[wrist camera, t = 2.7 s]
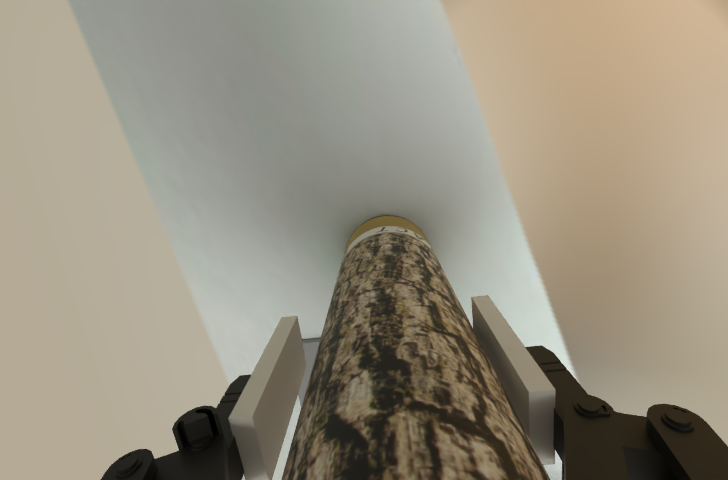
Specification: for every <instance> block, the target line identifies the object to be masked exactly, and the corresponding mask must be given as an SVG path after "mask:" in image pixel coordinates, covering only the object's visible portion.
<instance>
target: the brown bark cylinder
mask: <svg viewBox="0 0 728 480" xmlns="http://www.w3.org/2000/svg"><path fill="white" fill-rule="evenodd" d="M341 264H342V265H341V267H340V271H339V274H338V278H337V282H336V285H335V289H334V292H333V296H332V300H331V303H330V307H329V310H328V314H327V318H326V321H325V325H324V328H323V332H322V336H321V339H320V343H319V346H318V350H317V354H316V357H315V361H314V365H313V368H312V372H311V375H310V379H309V383H308V386H307V390H306V393H305V397H304V401H303V404H302V408H301V411H300V415H299V419H298V422H297V426H296V430H295V433H294V437H293V440H292V444H291V448H290V451H289V455H288V458H287V462H286V466H285V469H284V473H283V476H282V480H550V478H549V476H548V475H547V473H546V471H545V469H544V467H543V465H542V463H541V461H540V459H539V457H538V455H537V453H536V451H535V449H534V447H533V445H532V443H531V441H530V439H529V437H528V435H527V433H526V432H525V430H524V428H523V426H522V424H521V422H520V420H519V418H518V416H517V414H516V412H515V410H514V408H513V406H512V404H511V402H510V400H509V398H508V396H507V394H506V392H505V390H504V389H503V387H502V385H501V383H500V381H499V379H498V377H497V375H496V373H495V371H494V369H493V367H492V365H491V363H490V361H489V359H488V357H487V355H486V353H485V351H484V349H483V347H482V346H481V344H480V342H479V340H478V338H477V336H476V334H475V332H474V330H473V328H472V326H471V324H470V322H469V320H468V318H467V316H466V314H465V312H464V310H463V308H462V306H461V304H460V303H459V301H458V299H457V297H456V295H455V293H454V291H453V289H452V287H451V285H450V283H449V281H448V279H447V277H446V275H445V273H444V271H443V269H442V267H441V265H440V263H439V262H438V260H437V258H436V256H435V255H434V252H433V250H432V248H431V247H430V245H429V243H428V241H427V239H426V237H425V235H424V234H423V233H422V231H421V230H420V229H419V228H418V227H417V226H415V225H414V224H413V223H411V222H409V221H408V220H405V219H403V218H400V217H395V216H382V217H377V218H373V219H371V220H369V221H367V222H365V223H364V224H362V225H361V226H360V227H358V228H357V229H356V231H355V232H354V233H353V234H352V236H351V237H350V239H349V241H348V244H347V247H346V250H345V254H344V257H343V260H342V263H341Z"/></svg>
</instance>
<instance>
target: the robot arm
mask: <svg viewBox="0 0 728 480" xmlns="http://www.w3.org/2000/svg"><path fill="white" fill-rule="evenodd" d="M472 314H473V330H474V332H475V334H476V336H477V338H478V340H479V342H480V344H481V346H482V347H483V349H484V351H485V353H486V355H487V357H488V359H489V361H490V363H491V365H492V367H493V369H494V371H495V373H496V375H497V377H498V379H499V381H500V383H501V385H502V387H503V389H504V390H505V392H506V394H507V396H508V398H509V400H510V402H511V404H512V406H513V408H514V410H515V412H516V414H517V416H518V418H519V420H520V422H521V424H522V426H523V428H524V430H525V432H526V433H527V435H528V437H529V439H530V441H531V443H532V445H533V447H534V449H535V451H536V453H537V455H538V457H539V459H540V461H541V463H542V465H546V464H555V450H556V452H557V453H558V455H559V457H560V459H561V460H562V480H728V447H727V445H726V444H725V443H724V442H723V441H722V439H721V438H720V437H719V436H718V435H717V434H716V433H715V432H714V430H713V429H712V428H711V427H710V426H709V425H708V424H707V422H705V421H704V420H703V419H702V418H701V417H700V416H698V415H696V414H695V413H692V412H691V411H689V410H687V409H684V408H681V407H678V406H675V405H669V404H658V405H653V406H652V407H650V408H649V409H648V412H647V417H643V416H636V415H629V414H622V413H618V412H615V411H614V410H613V408H612V407H611V406H609V404H607V403H606V402H605V401H603V400H601V399H599V398H597V397H594V396H591V395H588V394H587V393H586V391H585V390H584V389H583V388H582V387H581V385H580V384H579V383H578V382H577V381H576V379H575V378H574V377H573V376H572V375H571V373H570V372H569V371H567V369H566V367H565V366H564V365H563V364H562V363H561V361H560V360H559V359H558V358H557V357H556V355H555V354H554V353H553V352H551V351H550V350H548V349H546V348H545V347H543V346H532V347H525V346H524V345H523V344H522V342H521V341H520V339H519V338H518V337H517V335H516V334H515V332H514V331H513V330H512V328H511V327H510V325H509V324H508V323H507V321H506V320H505V319H504V317H503V316H502V314H501V313H500V312H499V310H498V309H497V307H496V306H495V305H494V303H493V302H492V300H491V299H490V298H489V296H488V295H487V296H477V297H472ZM306 366H307V363H306V358H305V353H304V348H303V343H302V338H301V333H300V328H299V323H298V318H297V316H290V317H282V318H281V320H280V322H279V324H278V326H277V327H276V329H275V331H274V333H273V335H272V337H271V339H270V341H269V343H268V344H267V346H266V348H265V350H264V352H263V354H262V356H261V358H260V360H259V362H258V363H257V365H256V367H255V369H254V371H253V373H252V375H242V376H239V377H238V378H237V379H236V380H235V381H234V382H232V383H231V384H230V386H229V387H228V389H227V391H226V392H225V396H223V398H222V399H221V401H220V404H218V406H217V408H214V407H212V406H201V407H197V408H194V409H192V410H190V411H188V412H187V413H185V414H184V415H182V416H181V417H180V418H179V419H178V420H177V421H176V422H175V424H174V426H173V428H172V430H173V433H174V436H175V439H176V442H177V445H178V448H179V451H177V452H174V453H172V454H169V455H166V456H163V457H160V458H157V459H154V457H153V454H152V452H151V451H150V450H147V449H138V450H135V451H133V452H130V453H128V454H126V455H124V456H122V457H121V458H119V459H118V460H117V461H116V462H114V463H113V464H112V465H111V466H110V467H109V469H108V470H107V471H106V472H105V474H104V475H103V477H102V479H101V480H241V479H242V477H243V474H244V476H245V480H272V477H273V474H274V470H275V467H276V464H277V461H278V457H279V454H280V451H281V448H282V444H283V441H284V438H285V435H286V431H287V428H288V425H289V421H290V418H291V415H292V412H293V408H294V405H295V402H296V399H297V395H298V392H299V389H300V386H301V382H302V379H303V376H304V372H305V369H306Z"/></svg>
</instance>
